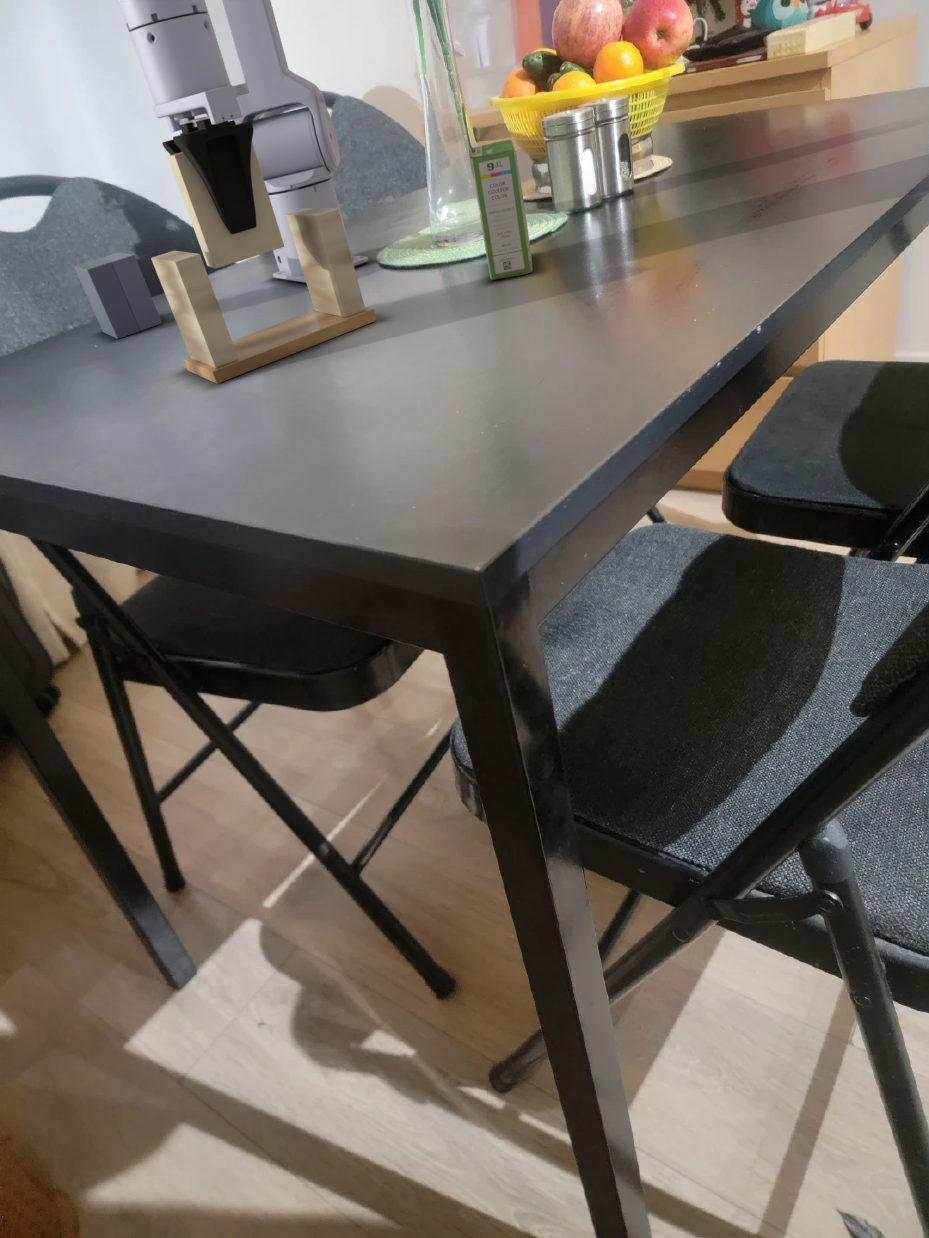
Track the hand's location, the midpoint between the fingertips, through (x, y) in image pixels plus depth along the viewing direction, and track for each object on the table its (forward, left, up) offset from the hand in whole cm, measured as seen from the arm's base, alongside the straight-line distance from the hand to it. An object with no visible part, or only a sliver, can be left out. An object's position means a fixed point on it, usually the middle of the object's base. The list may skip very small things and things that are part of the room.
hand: (238, 230), depth 66 cm
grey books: (-28, -5, -9) cm, 30 cm away
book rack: (+1, 0, -9) cm, 9 cm away
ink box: (+5, +22, -9) cm, 25 cm away
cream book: (0, 0, -2) cm, 2 cm away
